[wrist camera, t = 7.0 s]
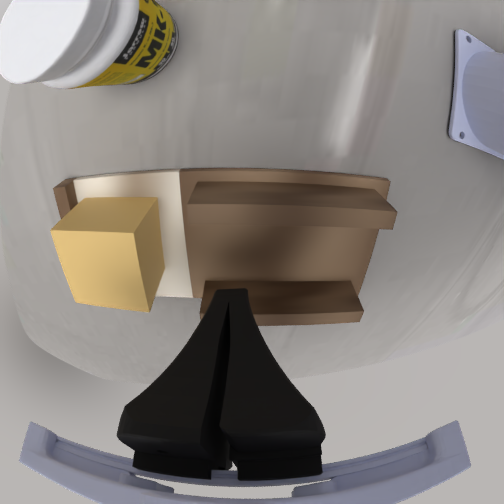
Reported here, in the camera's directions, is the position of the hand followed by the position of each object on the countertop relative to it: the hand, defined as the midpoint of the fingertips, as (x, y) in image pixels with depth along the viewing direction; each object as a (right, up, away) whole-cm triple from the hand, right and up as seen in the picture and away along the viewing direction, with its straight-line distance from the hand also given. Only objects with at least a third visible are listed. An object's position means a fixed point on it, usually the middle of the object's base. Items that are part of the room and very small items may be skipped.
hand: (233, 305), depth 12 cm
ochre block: (-7, +4, +4) cm, 9 cm away
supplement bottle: (-5, +13, -2) cm, 14 cm away
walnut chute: (-1, +3, +5) cm, 6 cm away
